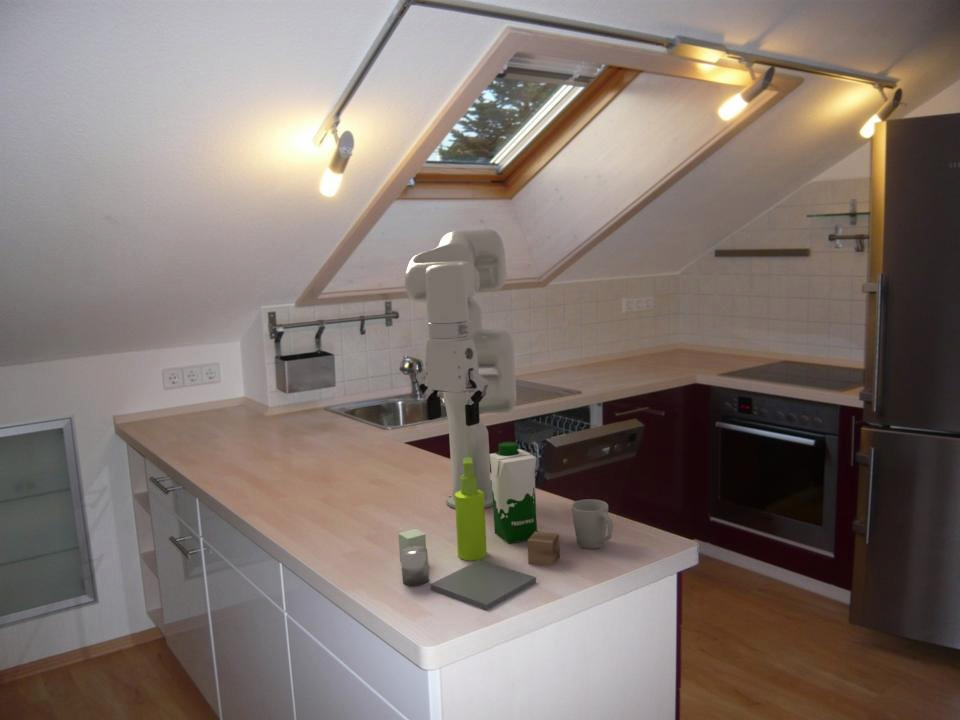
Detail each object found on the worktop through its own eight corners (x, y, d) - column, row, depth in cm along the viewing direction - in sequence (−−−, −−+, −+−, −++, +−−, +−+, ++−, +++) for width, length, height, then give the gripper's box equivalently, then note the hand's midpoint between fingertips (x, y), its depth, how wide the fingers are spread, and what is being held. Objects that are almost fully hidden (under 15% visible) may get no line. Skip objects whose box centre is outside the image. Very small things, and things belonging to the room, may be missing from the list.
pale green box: (417, 556, 165) (415, 528, 164) (426, 562, 162) (425, 534, 161) (400, 561, 163) (398, 533, 162) (409, 567, 159) (407, 539, 159)
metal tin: (416, 573, 157) (414, 544, 156) (434, 579, 153) (432, 549, 152) (397, 582, 153) (395, 552, 152) (415, 588, 150) (413, 558, 149)
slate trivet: (480, 564, 159) (480, 559, 159) (536, 582, 150) (536, 577, 150) (430, 589, 149) (430, 584, 149) (486, 610, 140) (486, 604, 140)
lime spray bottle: (485, 546, 168) (481, 454, 165) (487, 559, 161) (482, 463, 158) (457, 548, 168) (453, 455, 165) (458, 561, 161) (453, 465, 158)
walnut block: (536, 554, 163) (535, 531, 162) (559, 557, 161) (559, 533, 160) (528, 564, 159) (527, 540, 158) (552, 567, 157) (551, 542, 156)
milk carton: (524, 525, 179) (521, 438, 176) (543, 538, 171) (540, 447, 168) (489, 532, 176) (484, 444, 173) (506, 546, 168) (502, 454, 165)
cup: (591, 534, 172) (591, 496, 171) (625, 548, 164) (624, 508, 163) (565, 543, 168) (563, 504, 167) (597, 558, 160) (596, 517, 158)
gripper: (497, 330, 145) (501, 422, 148) (428, 327, 157) (433, 412, 159) (470, 336, 140) (475, 431, 142) (401, 331, 151) (406, 420, 154)
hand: (453, 421), depth 151 cm, fingers open, 9 cm apart
